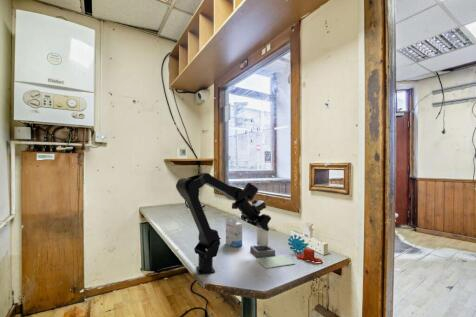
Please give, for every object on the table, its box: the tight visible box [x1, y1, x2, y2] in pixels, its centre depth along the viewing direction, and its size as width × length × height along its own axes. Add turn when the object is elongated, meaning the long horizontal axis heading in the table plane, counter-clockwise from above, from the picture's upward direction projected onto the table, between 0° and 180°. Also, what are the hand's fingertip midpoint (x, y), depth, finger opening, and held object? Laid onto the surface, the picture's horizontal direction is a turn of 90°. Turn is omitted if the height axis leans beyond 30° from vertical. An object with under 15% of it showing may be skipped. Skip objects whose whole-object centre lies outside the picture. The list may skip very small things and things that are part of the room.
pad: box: [255, 254, 296, 269], centre depth 104 cm, size 10×14×1 cm
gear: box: [287, 234, 309, 255], centre depth 118 cm, size 11×6×10 cm
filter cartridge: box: [256, 213, 269, 246], centre depth 114 cm, size 6×6×14 cm
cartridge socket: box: [249, 244, 276, 259], centre depth 114 cm, size 9×9×2 cm
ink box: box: [225, 216, 243, 248], centre depth 127 cm, size 9×5×15 cm, turn 45°
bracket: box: [295, 247, 323, 263], centre depth 107 cm, size 12×4×5 cm, turn 56°
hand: (264, 229), depth 115 cm, fingers closed on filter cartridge, 5 cm apart
